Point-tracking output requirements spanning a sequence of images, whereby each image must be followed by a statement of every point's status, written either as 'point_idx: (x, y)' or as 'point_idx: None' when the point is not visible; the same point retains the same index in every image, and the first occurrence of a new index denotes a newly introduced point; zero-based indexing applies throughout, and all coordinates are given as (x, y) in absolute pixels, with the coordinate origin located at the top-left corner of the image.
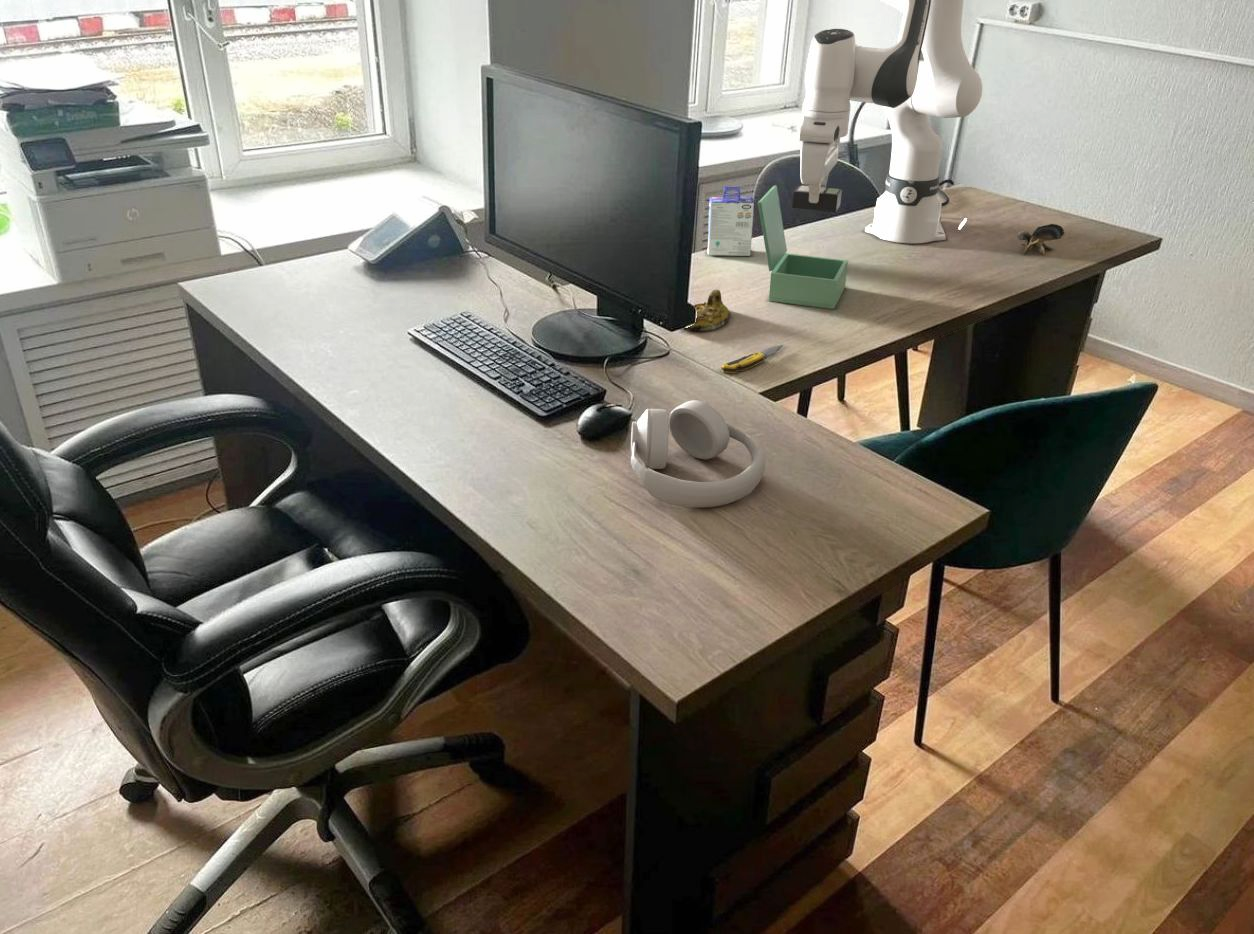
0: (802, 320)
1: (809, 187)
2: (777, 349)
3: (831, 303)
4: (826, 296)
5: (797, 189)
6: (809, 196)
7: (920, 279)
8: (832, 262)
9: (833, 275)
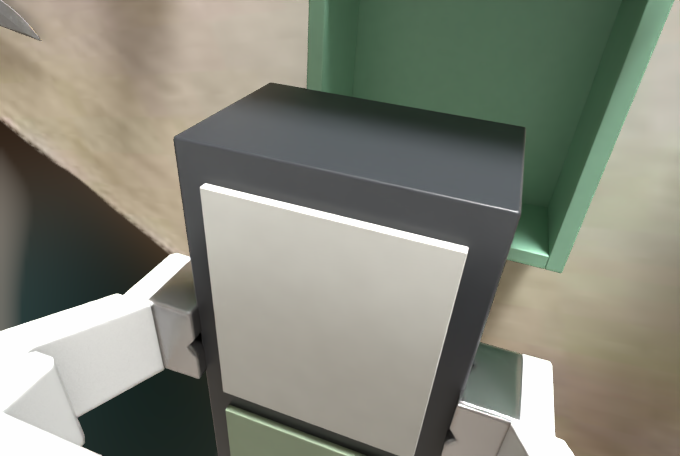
0: (227, 77)
1: (33, 327)
2: (5, 27)
3: None
4: None
5: (275, 185)
6: (146, 276)
7: (658, 426)
8: (564, 210)
9: (558, 194)
